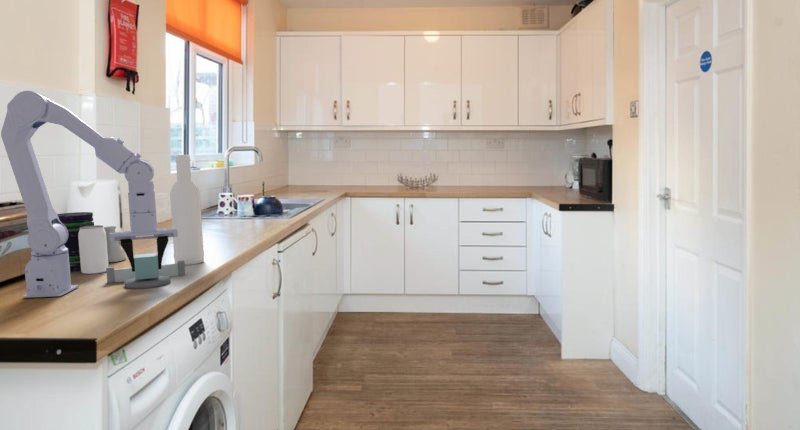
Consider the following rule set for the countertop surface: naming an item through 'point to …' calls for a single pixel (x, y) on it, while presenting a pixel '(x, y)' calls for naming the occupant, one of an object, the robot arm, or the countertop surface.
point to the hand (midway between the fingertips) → (146, 269)
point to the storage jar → (75, 235)
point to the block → (146, 266)
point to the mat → (147, 282)
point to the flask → (113, 247)
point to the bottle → (186, 215)
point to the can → (93, 249)
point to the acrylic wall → (127, 273)
